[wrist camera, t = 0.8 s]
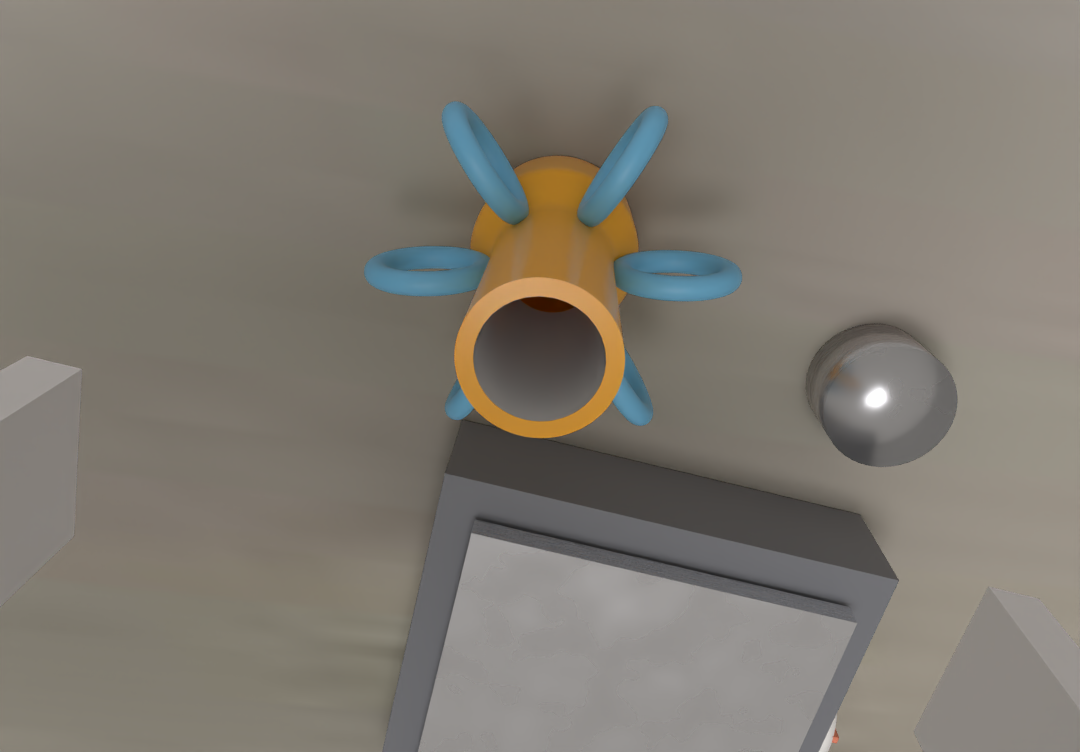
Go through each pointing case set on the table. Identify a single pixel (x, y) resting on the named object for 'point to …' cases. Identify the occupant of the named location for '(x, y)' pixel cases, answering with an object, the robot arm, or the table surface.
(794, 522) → the base
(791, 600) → the pan
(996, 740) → the robot arm
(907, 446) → the cylinder
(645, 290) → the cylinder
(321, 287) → the table surface
